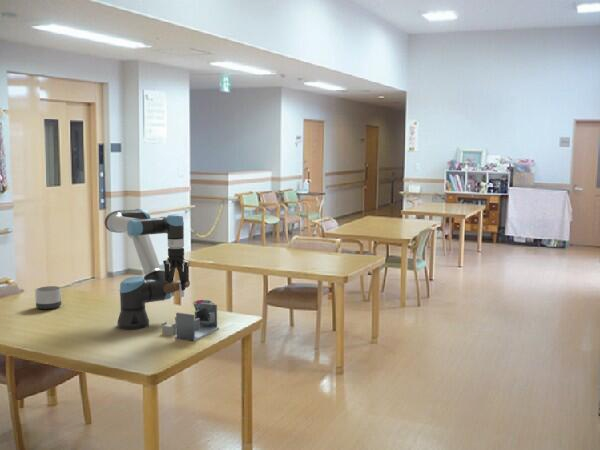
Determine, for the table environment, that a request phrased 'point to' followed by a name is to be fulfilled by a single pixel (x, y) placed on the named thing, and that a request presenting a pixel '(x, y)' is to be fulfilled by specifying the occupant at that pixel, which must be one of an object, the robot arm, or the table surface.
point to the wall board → (202, 332)
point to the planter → (48, 297)
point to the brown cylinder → (174, 286)
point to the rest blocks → (169, 328)
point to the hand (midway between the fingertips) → (177, 296)
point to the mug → (197, 303)
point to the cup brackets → (196, 321)
